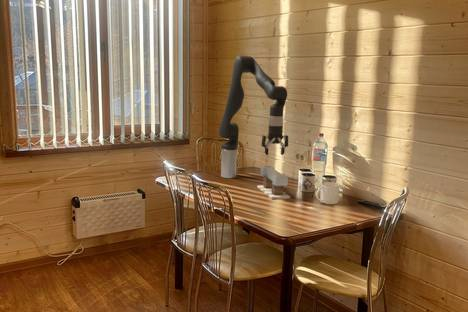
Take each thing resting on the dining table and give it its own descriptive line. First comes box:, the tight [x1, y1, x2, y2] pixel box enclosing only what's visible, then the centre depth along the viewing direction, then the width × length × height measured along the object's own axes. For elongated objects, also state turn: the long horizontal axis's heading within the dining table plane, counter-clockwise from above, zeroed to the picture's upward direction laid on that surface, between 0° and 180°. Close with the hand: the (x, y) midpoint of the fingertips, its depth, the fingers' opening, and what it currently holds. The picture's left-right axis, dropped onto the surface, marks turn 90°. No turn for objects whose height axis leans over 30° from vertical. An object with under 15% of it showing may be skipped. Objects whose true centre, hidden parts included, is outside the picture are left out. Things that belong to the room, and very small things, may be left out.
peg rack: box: [256, 177, 291, 200], centre depth 246 cm, size 26×10×7 cm, turn 14°
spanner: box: [259, 165, 289, 187], centre depth 245 cm, size 26×6×5 cm, turn 14°
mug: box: [315, 181, 340, 205], centre depth 230 cm, size 12×9×9 cm
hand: (274, 154), depth 243 cm, fingers open, 8 cm apart
